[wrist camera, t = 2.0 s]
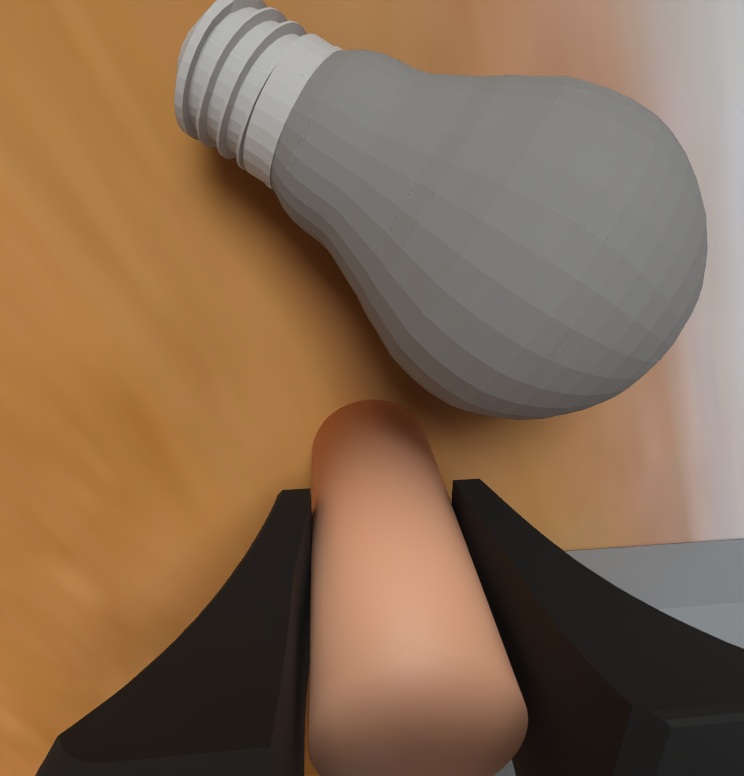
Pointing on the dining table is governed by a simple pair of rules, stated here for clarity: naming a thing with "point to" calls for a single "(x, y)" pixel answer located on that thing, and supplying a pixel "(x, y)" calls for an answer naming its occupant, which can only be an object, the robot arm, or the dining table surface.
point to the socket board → (678, 584)
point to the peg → (399, 613)
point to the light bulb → (464, 207)
